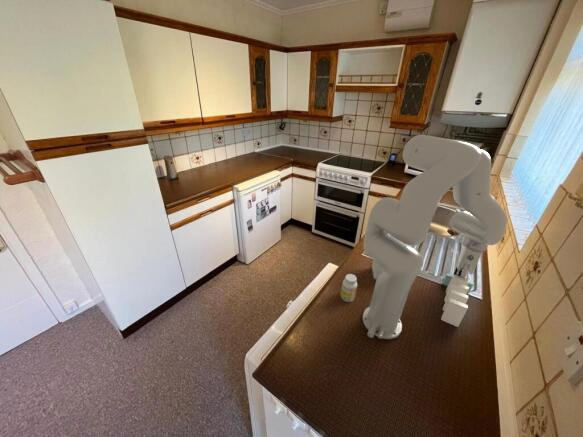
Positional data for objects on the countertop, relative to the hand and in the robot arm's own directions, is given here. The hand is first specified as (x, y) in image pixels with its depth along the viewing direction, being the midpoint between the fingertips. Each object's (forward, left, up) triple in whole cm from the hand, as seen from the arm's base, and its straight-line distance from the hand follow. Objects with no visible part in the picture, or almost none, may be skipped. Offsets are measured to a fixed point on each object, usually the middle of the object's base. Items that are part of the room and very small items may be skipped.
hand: (457, 279), depth 94 cm
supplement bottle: (-30, +33, -4) cm, 45 cm away
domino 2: (-10, 0, -4) cm, 11 cm away
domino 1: (-5, 0, -4) cm, 6 cm away
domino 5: (0, -5, -2) cm, 5 cm away
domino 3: (-15, 0, -4) cm, 15 cm away
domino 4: (-20, 0, -4) cm, 20 cm away
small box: (-10, +27, -4) cm, 29 cm away
